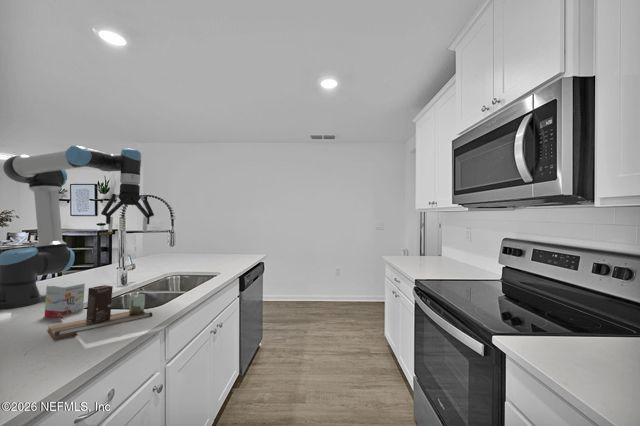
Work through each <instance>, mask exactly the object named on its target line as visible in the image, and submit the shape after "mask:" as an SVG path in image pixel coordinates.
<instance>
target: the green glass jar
mask: <svg viewBox="0 0 640 426" xmlns="http://www.w3.org/2000/svg"><path fill="white" fill-rule="evenodd" d="M145 298H146V295H145V293H134V294H131V295H129V309H128V312H129V315H131V316H135V315H140V314H144V312H145V303H146V299H145Z"/></svg>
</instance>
